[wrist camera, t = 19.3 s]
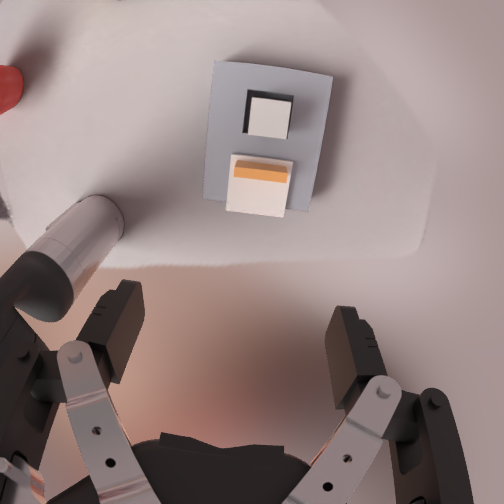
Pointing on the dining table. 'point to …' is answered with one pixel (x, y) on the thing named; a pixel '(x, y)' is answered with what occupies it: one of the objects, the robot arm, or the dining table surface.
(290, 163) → the shutter
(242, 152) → the socket block
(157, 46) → the dining table surface
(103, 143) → the dining table surface
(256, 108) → the plug
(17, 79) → the flower pot
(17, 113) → the dining table surface
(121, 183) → the dining table surface
